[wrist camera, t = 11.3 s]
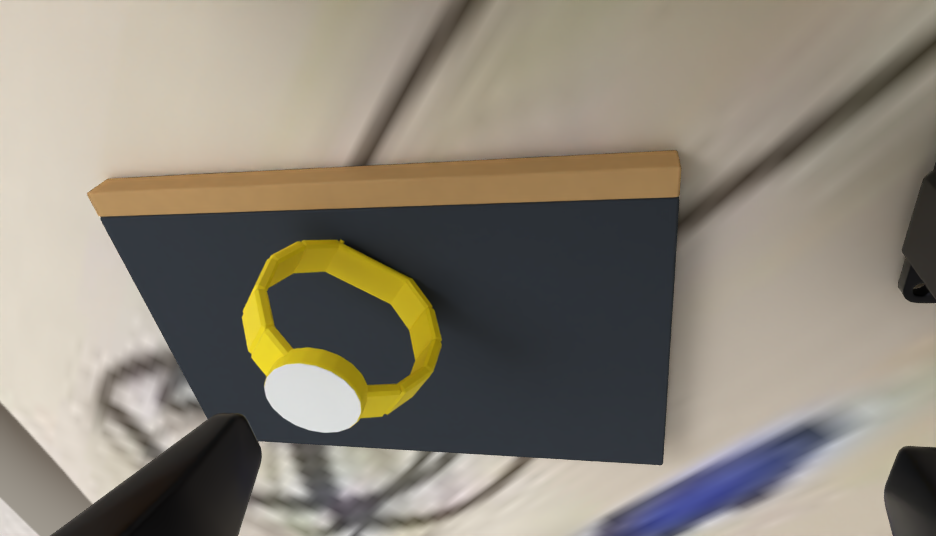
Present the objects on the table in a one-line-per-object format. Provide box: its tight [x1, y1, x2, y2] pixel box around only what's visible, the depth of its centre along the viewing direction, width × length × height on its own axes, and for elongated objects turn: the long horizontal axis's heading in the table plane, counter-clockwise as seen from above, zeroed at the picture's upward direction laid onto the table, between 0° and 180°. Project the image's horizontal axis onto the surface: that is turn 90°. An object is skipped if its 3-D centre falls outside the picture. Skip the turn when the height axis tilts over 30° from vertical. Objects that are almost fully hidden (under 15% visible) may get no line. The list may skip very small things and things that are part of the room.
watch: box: [242, 239, 442, 433], centre depth 19 cm, size 6×3×6 cm, turn 60°
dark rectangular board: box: [87, 150, 681, 465], centre depth 23 cm, size 20×13×1 cm, turn 98°
